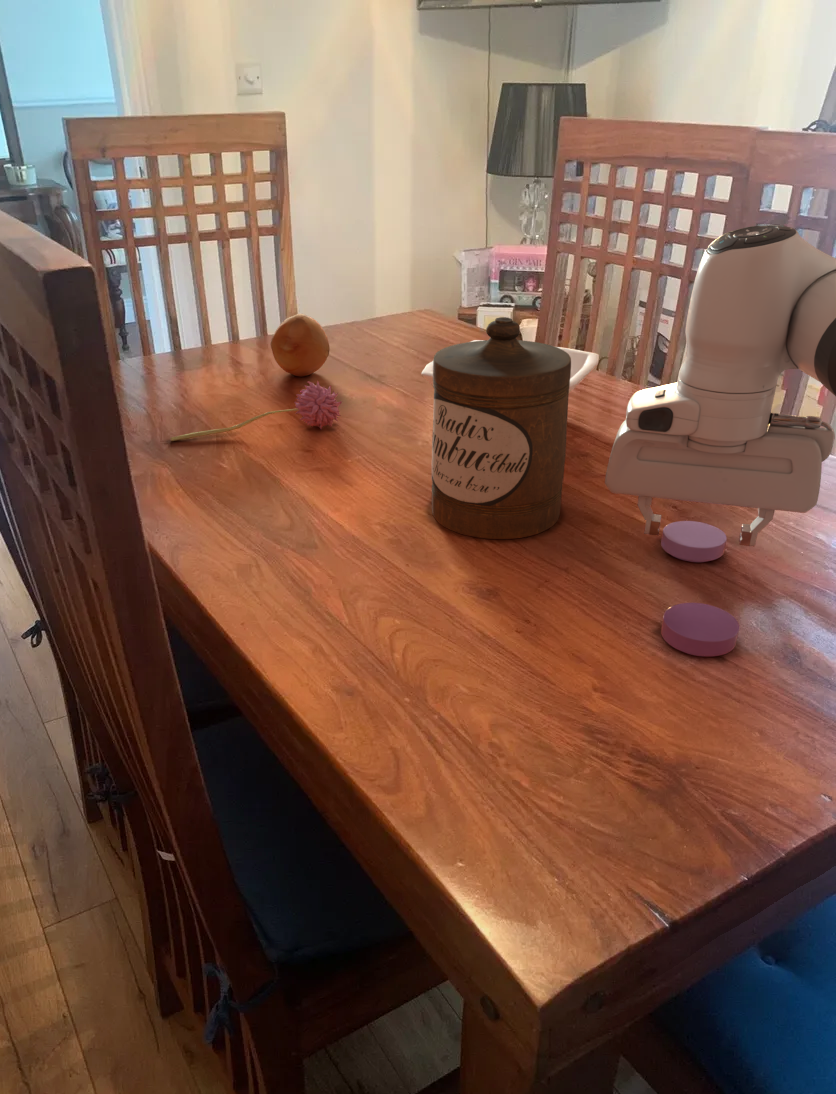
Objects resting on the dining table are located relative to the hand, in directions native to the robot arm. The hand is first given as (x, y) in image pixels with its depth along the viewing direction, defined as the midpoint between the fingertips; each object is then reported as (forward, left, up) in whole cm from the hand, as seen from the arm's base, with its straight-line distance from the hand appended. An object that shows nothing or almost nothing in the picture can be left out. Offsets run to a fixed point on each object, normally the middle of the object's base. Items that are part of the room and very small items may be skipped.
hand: (698, 538), depth 90 cm
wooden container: (+22, -4, -2) cm, 23 cm away
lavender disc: (0, 0, -2) cm, 2 cm away
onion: (+66, -49, -2) cm, 82 cm away
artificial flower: (+60, -20, -2) cm, 64 cm away
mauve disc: (-1, +17, -2) cm, 17 cm away
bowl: (+27, -36, -2) cm, 45 cm away
